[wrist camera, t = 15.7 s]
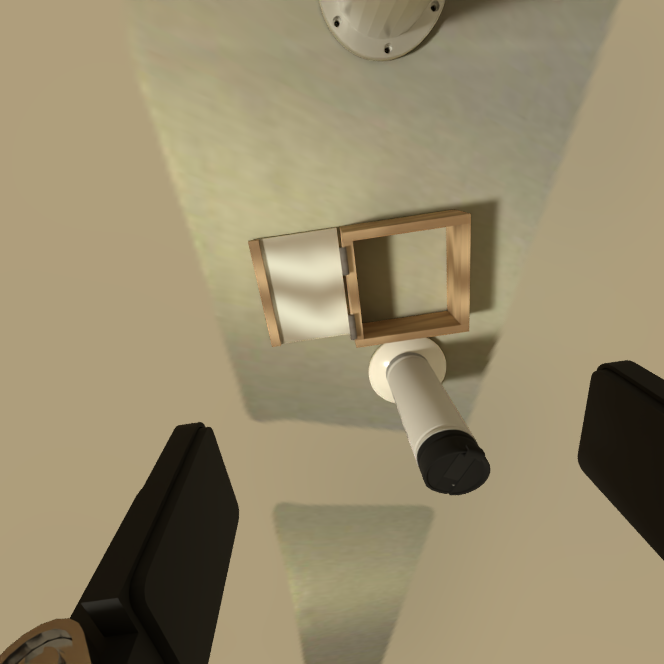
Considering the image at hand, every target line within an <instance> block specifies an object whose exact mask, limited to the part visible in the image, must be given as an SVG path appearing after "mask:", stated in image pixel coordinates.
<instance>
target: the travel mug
mask: <svg viewBox="0 0 664 664" xmlns="http://www.w3.org/2000/svg"><path fill="white" fill-rule="evenodd" d="M386 378H387V381H388V384H389V387H390V389H391V392H392V395H393V398H394V401H395V403H396V406H397V409H398V412H399V415H400V417H401V420H402V423H403V426H404V428H405V431H406V434H407V437H408V440H409V442H410V445H411V448H412V451H413V453H414V456H415V459H416V461H417V465H418V466H419V468H420V471H421V474H422V477H423V480H424V482H425V484H426V486H427V487H428V488H430V489H431V490H434V491H436V492H439V493H444V494H447V493H449V494H450V495H462V494H466V493H469V492H471V491H473V490H475V489H477V488H479V487H480V486H481V485H482V484H484V483H485V481H486V480H487V479H488V476H489V474H490V464H489V462H488V461H487V459H486V457H485V453H484V452H483V450H482V449H481V448H480V447H479V446H478V444H477V442H476V440H475V438H474V436H473V435H472V433H471V432H470V430H469V428H468V427H467V425H466V423H465V422H464V420H463V418H462V417H461V415H460V413H459V412H458V410H457V408H456V407H455V405H454V404H453V402H452V400H451V399H450V397H449V395H448V394H447V392H446V390H445V389H444V387H443V386H442V384H441V382H440V381H439V379H438V377H437V376H436V374H435V372H434V371H433V369H432V368H431V366H430V364H429V363H428V361H427V360H426V358H425V357H423V356H422V355H420V354H418V353H414V352H407V353H402V354H400V355H398V356H396V357H395V358H393V359H392V360H391V361H390V363H389V364H388V366H387V369H386Z"/></svg>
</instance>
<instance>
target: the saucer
mask: <svg viewBox="0 0 664 664" xmlns="http://www.w3.org/2000/svg"><path fill="white" fill-rule="evenodd" d="M407 352H414V353H418V354H420V355H422V356H423V357H425V358H426V360H427V361H428V363H429V364H430V366H431V368H432V369H433V371H434V372H435V374H436V376H437V377H438V379H439V381H440V382H441V383H442V381H443V379H444V376H445V373H446V360H445V356H444V354H443V352H442V350H441V349H440V348H439V346H438V345H437V344H436V343H435V342H434V341H433V340H431V339H429V338H428V337H426V338H420V339H413V340H406V341H399V342H392V343H385V344H381V345H380V346H379V347H378V348H377V350H376V351H375V352H374V354H373V356H372V357H371V360H370V363H369V369H368V372H369V379H370V382H371V385H372V387H373V389H374V390H375V392H376V393H377V394H378V395H379V396H381V397H382V398H383V399H385V400H387V401H390V402H393V403H395V401H394V398H393V395H392V392H391V389H390V387H389V384H388V381H387V378H386V369H387V366H388V364H389V363H390V361H391V360H392V359H393V358H395V357H396V356H398V355H400V354H402V353H407Z"/></svg>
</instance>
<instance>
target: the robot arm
mask: <svg viewBox="0 0 664 664" xmlns="http://www.w3.org/2000/svg"><path fill="white" fill-rule="evenodd" d="M444 3H445V0H319V4H320V8H321V11H322V15H323V17H324V19H325V21H326V23H327V26H328V28H329V29H330V31H331V32H332V34H333V35H334V37H335V38H336V40H337V41H338V42H339V43H340V44H341V45H342V46H343V47H344V48H345V49H347V50H348V51H350V52H351V53H353V54H354V55H356V56H358V57H361V58H364V59H366V60H372V61H387V60H392V59H395V58H398V57H401V56H403V55H405V54H406V53H408V52H410V51H412V50H413V49H414V48H415V47H416V46H417V45H419V44H420V43H421V42H422V41H423V40H424V38H425V37H426V36H427V35H428V34H429V32H430V31H431V29H432V28H433V26H434V25H435V23H436V22H437V20H438V18H439V16H440V14H441V12H442V9H443V7H444ZM431 7H434V9H435V12H433V11H432V10H431ZM335 22H338V23H339V26H338V27H336V26H335V25H334V23H335ZM386 48H387V49H389V53H388V54H387V53H385V49H386ZM578 462H579V465H580V467H581V469H582V471H583V472H584V473H585V474H586V475H587V476H588V477H589V478H590V480H591V481H592V482H593V483H594V484H595V485H596V486H597V487H598V488H599V490H600V491H601V492H602V493H603V494H604V495H605V496H606V497H607V498H608V500H609V501H610V502H611V503H612V504H613V505H614V506H615V507H616V508H617V509H618V511H619V512H620V513H621V514H622V515H623V516H624V517H625V518H626V519H627V520H628V522H629V523H630V524H631V525H632V526H633V527H634V528H635V529H636V530H637V532H638V533H639V534H640V535H641V536H642V537H643V538H644V539H645V540H646V541H647V543H648V544H649V545H650V546H651V547H652V548H653V549H654V550H655V551H656V552H657V554H658V555H659V556H660V557H661V558H662V559H663V560H664V380H663V379H662V378H660V377H658V376H657V375H655V374H653V373H652V372H650V371H648V370H646V369H645V368H643V367H641V366H640V365H638V364H636V363H634V362H632V361H628V360H625V361H618V362H611V363H604V364H602V365H600V366H599V367H598V368H597V371H595V372H593V374H592V376H591V381H590V387H589V393H588V399H587V404H586V410H585V416H584V422H583V427H582V433H581V440H580V445H579V451H578ZM238 520H239V508H238V503H237V500H236V497H235V494H234V491H233V489H232V486H231V483H230V479H229V477H228V474H227V471H226V468H225V465H224V462H223V459H222V456H221V453H220V450H219V447H218V444H217V441H216V438H215V435H214V432H213V430H212V428H211V427H205V425H204V424H203V423H201V422H198V423H191V424H185V425H178V426H177V427H176V428H175V429H174V431H173V433H172V435H171V436H170V438H169V440H168V442H167V444H166V446H165V448H164V449H163V451H162V453H161V455H160V457H159V459H158V461H157V462H156V465H155V466H154V468H153V470H152V472H151V474H150V476H149V477H148V479H147V481H146V483H145V485H144V487H143V488H142V489H141V490H140V492H139V493H138V495H137V496H136V498H135V499H134V501H133V503H132V505H131V507H130V509H129V510H128V512H127V514H126V516H125V518H124V520H123V521H122V523H121V525H120V527H119V529H118V531H117V532H116V534H115V536H114V538H113V540H112V542H111V543H110V546H109V547H108V549H107V551H106V553H105V554H104V556H103V558H102V560H101V562H100V564H99V566H98V567H97V569H96V571H95V573H94V575H93V576H92V578H91V580H90V582H89V584H88V586H87V588H86V589H85V591H84V593H83V595H82V597H81V599H80V600H79V602H78V604H77V606H76V608H75V610H74V612H73V613H72V615H71V617H70V619H69V618H67V619H66V618H65V619H55V620H52V621H49V622H46V623H43V624H41V625H39V626H37V627H35V628H34V629H32V630H30V631H29V632H27V633H25V634H24V635H22V636H21V637H20V638H19V639H18V640H16V641H15V642H14V643H13V644H11V645H10V646H9V647H8V648H7V649H6V650H5V651H4V652H3V653H2V654H1V655H0V664H208V662H209V657H210V652H211V647H212V642H213V638H214V633H215V629H216V624H217V619H218V615H219V610H220V605H221V600H222V595H223V591H224V586H225V581H226V577H227V572H228V568H229V563H230V558H231V553H232V549H233V544H234V539H235V535H236V530H237V525H238Z"/></svg>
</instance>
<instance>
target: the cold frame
mask: <svg viewBox="0 0 664 664" xmlns="http://www.w3.org/2000/svg"><path fill="white" fill-rule="evenodd" d="M442 227H446V242H447V311H443V312H436V313H429V314H423V315H416V316H409V317H402V318H395V319H389V320H382V321H375V322H368V323H362V318H361V309H360V301H359V292H358V283H357V274H356V266H355V257H354V248H353V241H355V240H362V239H369V238H375V237H382V236H389V235H395V234H402V233H409V232H415V231H422V230H429V229H435V228H442ZM339 228H340V236H341V244H342V247H340V248H339V244H338V236H337V229H336V227H334V228H328V229H321V230H314V231H308V232H301V233H294V234H288V235H281V236H274V237H268V238H261V239H254V240H251V241H248V244H249V248H250V252H251V257H252V261H253V265H254V270H255V274H256V279H257V283H258V287H259V292H260V296H261V300H262V305H263V309H264V313H265V318H266V322H267V327H268V331H269V335H270V340H271V344H272V347H275V346H281V344H284V343H291V342H298V341H305V340H312V339H318V338H325V337H332V336H339V335H346V334H350V336H351V340H355V343H356V347H357V348H358V347H365V346H372V345H379V344H385V343H392V342H399V341H406V340H413V339H420V338H426V337H433V336H440V335H447V334H454V333H460V332H467V331H469V306H470V237H471V214H470V213H466V212H462V211H459V210H455V209H454V210H447V211H441V212H434V213H427V214H421V215H414V216H407V217H401V218H394V219H387V220H381V221H374V222H367V223H361V224H354V225H348V226H341V227H339ZM343 275H346V283H347V291H348V299H349V307H350V315H348V313H347V306H346V298H345V290H344V282H343Z"/></svg>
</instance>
